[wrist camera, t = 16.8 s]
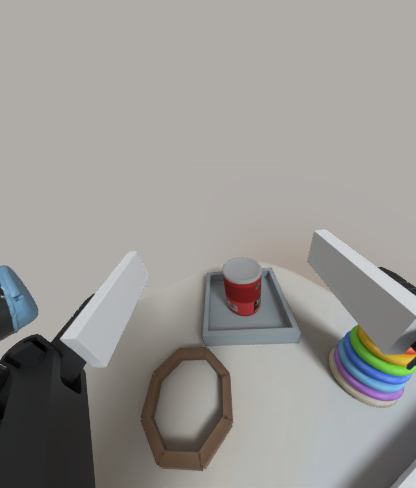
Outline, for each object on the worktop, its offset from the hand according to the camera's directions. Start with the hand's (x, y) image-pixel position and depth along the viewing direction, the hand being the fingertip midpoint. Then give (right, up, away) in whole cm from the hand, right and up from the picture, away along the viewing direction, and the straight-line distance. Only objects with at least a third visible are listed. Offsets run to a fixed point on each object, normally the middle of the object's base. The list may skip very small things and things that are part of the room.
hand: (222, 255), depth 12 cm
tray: (+8, -14, +27) cm, 31 cm away
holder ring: (-4, -24, +14) cm, 28 cm away
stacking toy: (+23, -20, +13) cm, 33 cm away
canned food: (+7, -14, +26) cm, 31 cm away
